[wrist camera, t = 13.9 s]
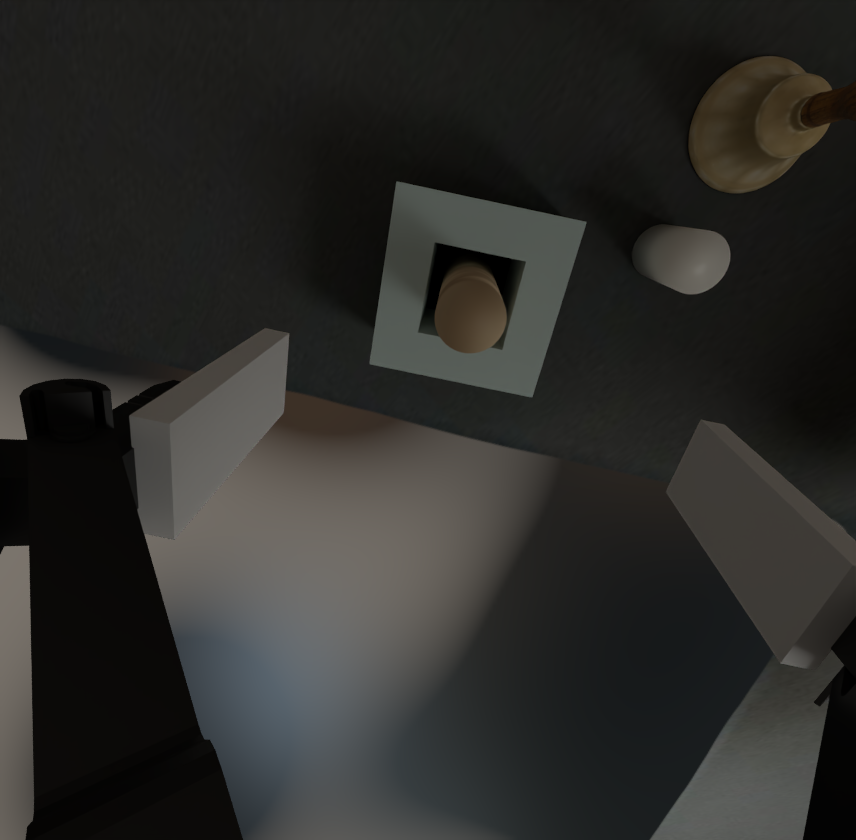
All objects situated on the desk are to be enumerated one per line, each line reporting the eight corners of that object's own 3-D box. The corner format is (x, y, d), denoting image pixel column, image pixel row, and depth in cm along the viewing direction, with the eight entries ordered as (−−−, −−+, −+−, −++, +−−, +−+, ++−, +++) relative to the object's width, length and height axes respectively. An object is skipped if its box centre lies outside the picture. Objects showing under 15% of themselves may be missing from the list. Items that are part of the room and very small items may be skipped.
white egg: (694, 230, 37) (741, 237, 31) (672, 282, 39) (713, 299, 32) (643, 219, 37) (680, 224, 31) (624, 272, 39) (655, 287, 32)
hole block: (562, 216, 37) (586, 222, 30) (520, 362, 42) (532, 397, 35) (409, 184, 37) (396, 181, 30) (385, 335, 42) (369, 364, 35)
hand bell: (686, 77, 33) (858, -15, 19) (819, 39, 32) (1115, -90, 17) (688, 206, 36) (837, 213, 22) (809, 176, 35) (1051, 164, 21)
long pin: (498, 259, 39) (515, 291, 26) (485, 308, 41) (495, 360, 28) (450, 248, 39) (443, 274, 26) (438, 297, 40) (427, 344, 28)
